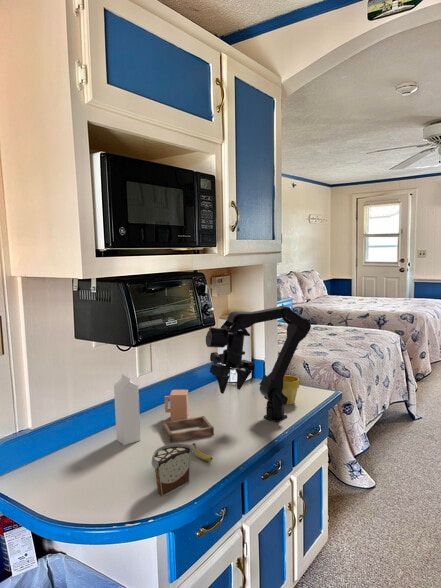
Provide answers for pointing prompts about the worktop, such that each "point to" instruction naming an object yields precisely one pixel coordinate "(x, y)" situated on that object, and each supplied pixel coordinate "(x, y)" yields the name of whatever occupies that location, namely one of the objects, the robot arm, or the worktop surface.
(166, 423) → the frame
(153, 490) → the worktop surface
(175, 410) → the peach box with tab
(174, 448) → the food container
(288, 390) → the plant pot
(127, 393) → the milk
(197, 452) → the banana
